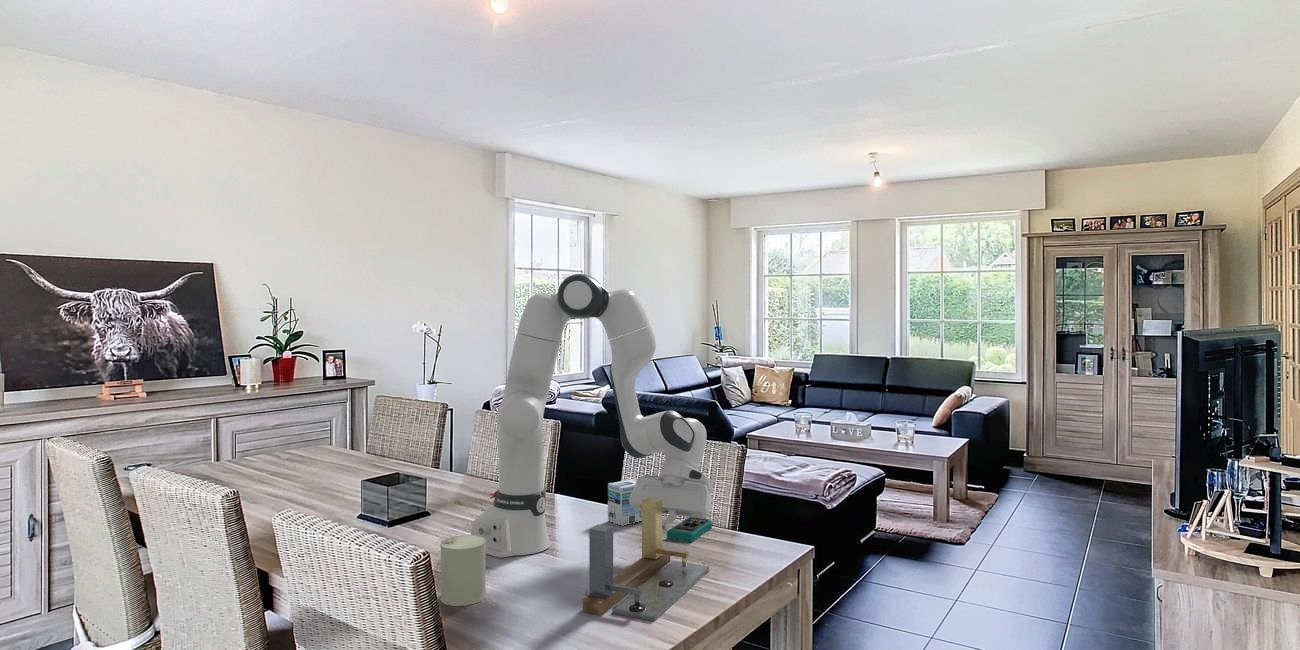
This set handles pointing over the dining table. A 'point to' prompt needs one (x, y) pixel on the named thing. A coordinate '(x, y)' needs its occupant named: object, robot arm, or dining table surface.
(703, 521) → the digital multimeter
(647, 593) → the hole plate
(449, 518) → the dining table surface
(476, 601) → the can
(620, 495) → the light bulb box
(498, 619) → the dining table surface
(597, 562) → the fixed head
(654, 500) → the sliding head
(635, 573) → the rail
